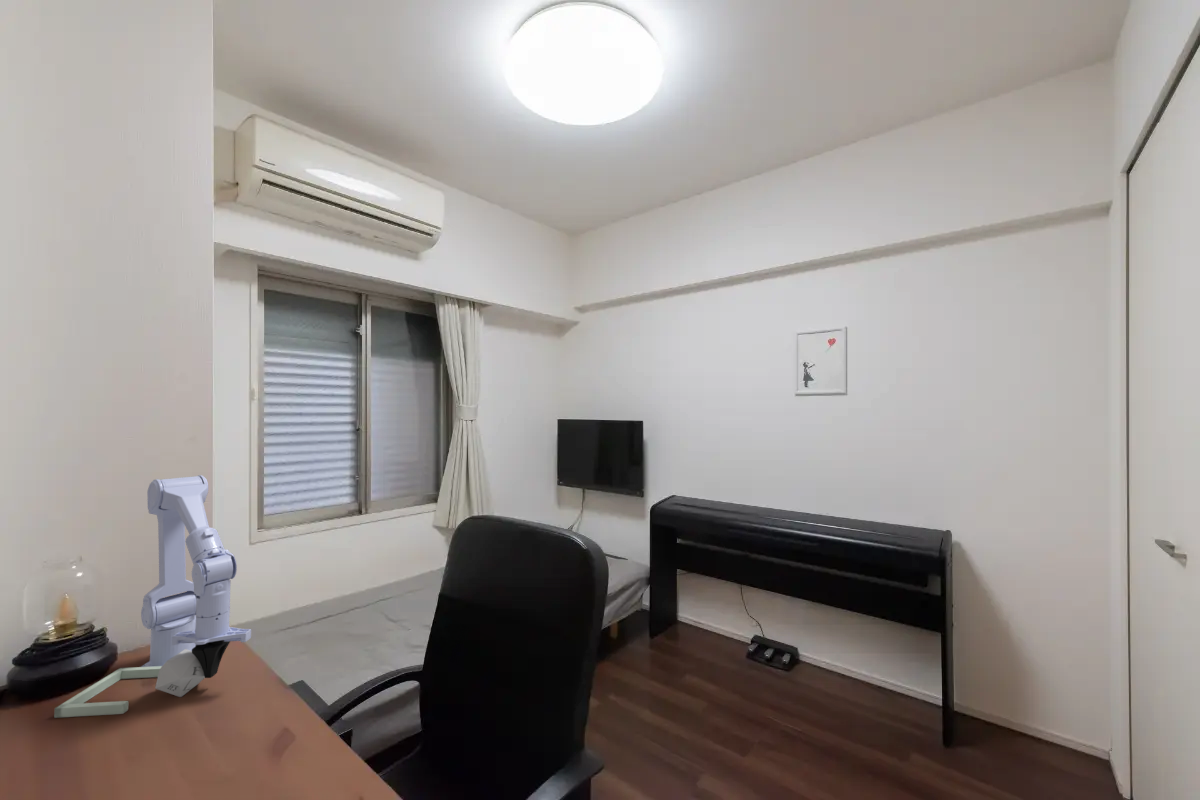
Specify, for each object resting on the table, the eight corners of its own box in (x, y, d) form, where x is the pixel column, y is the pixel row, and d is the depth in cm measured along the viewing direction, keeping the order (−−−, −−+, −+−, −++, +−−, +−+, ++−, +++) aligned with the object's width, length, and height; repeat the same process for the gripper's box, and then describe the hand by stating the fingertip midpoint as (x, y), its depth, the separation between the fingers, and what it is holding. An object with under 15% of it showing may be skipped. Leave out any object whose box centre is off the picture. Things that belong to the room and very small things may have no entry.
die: (148, 711, 95) (181, 671, 96) (141, 677, 100) (172, 639, 100) (193, 704, 102) (223, 667, 103) (185, 672, 106) (213, 638, 107)
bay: (119, 676, 106) (120, 668, 106) (178, 673, 107) (178, 665, 107) (54, 717, 92) (54, 708, 92) (122, 713, 93) (123, 704, 93)
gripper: (161, 621, 97) (159, 688, 97) (237, 619, 99) (235, 684, 99) (186, 607, 104) (184, 669, 104) (257, 605, 106) (255, 665, 106)
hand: (211, 675), depth 102 cm, fingers closed
